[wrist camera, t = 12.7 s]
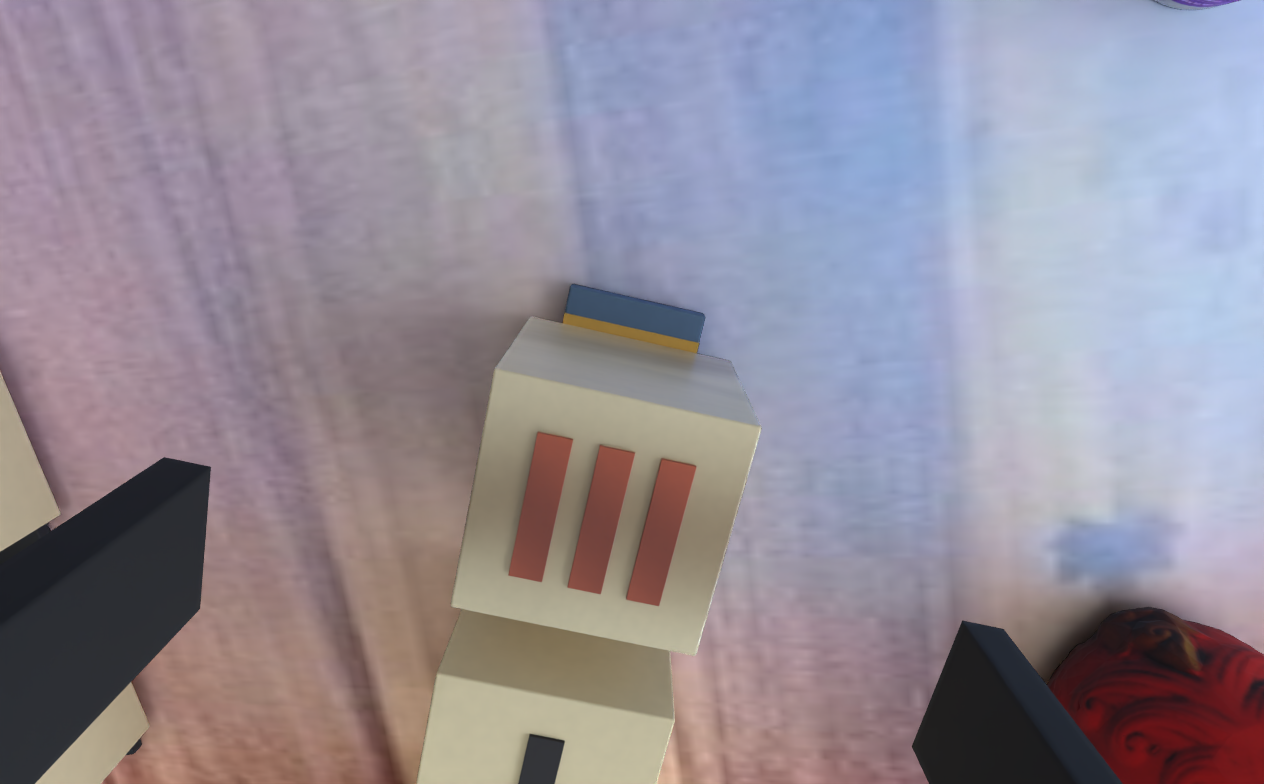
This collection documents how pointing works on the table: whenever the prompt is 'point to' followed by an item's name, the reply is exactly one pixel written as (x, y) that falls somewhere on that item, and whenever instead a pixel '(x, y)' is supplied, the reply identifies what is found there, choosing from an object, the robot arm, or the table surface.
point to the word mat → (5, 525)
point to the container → (1193, 3)
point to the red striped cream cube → (605, 486)
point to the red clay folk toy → (1167, 700)
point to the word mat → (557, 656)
